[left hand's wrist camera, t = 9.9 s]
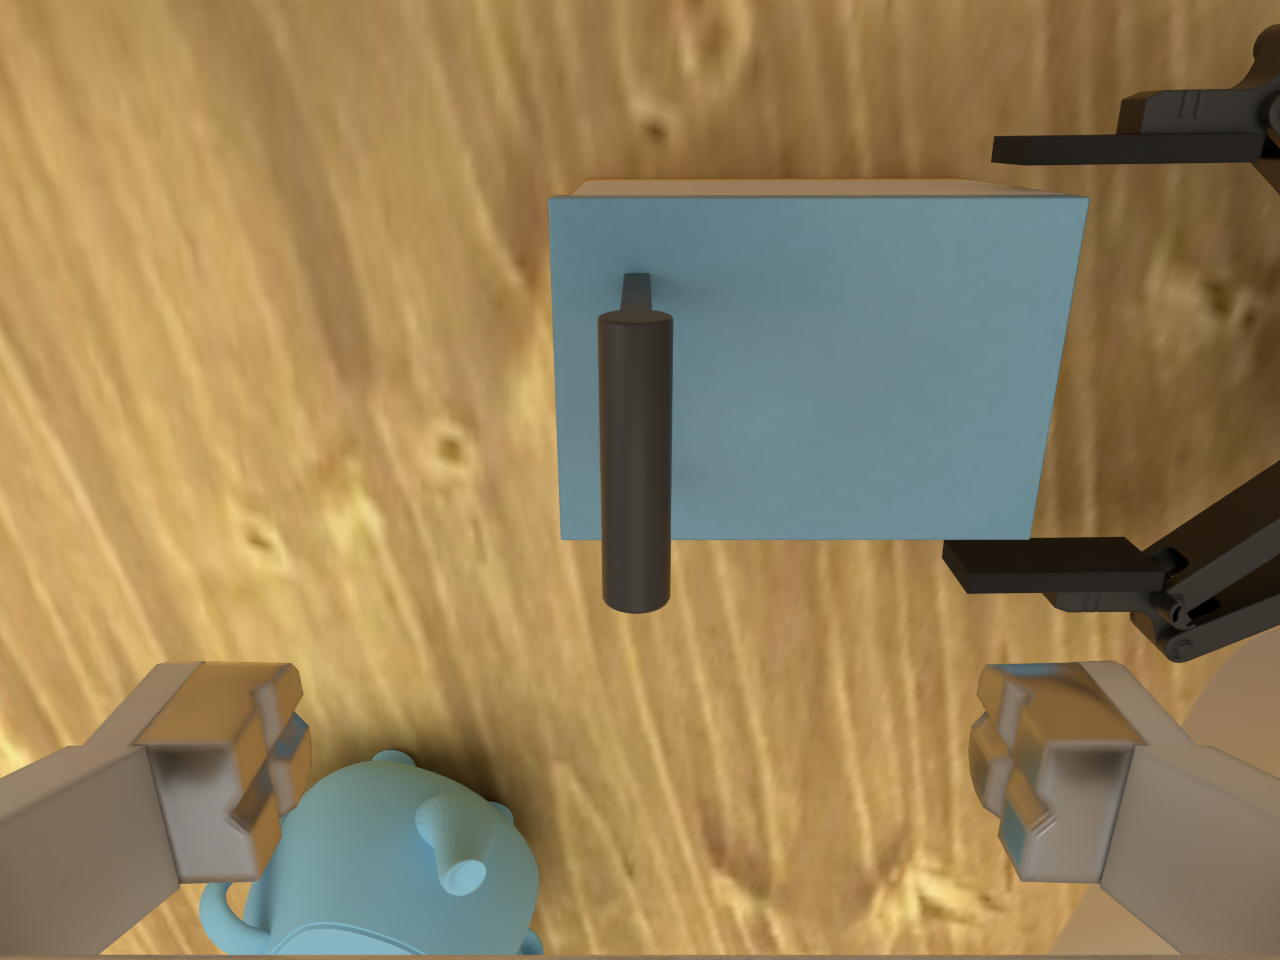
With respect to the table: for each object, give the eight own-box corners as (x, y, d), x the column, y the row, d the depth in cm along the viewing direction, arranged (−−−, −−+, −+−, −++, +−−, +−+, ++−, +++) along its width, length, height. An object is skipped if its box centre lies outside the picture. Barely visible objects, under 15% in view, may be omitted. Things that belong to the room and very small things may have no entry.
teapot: (319, 925, 46) (231, 1167, 36) (239, 705, 40) (107, 919, 30) (561, 903, 46) (543, 1141, 35) (516, 678, 40) (478, 885, 29)
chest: (592, 435, 36) (578, 523, 28) (586, 178, 32) (568, 194, 24) (930, 435, 36) (1013, 523, 28) (962, 178, 32) (1069, 194, 24)
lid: (563, 524, 28) (532, 684, 20) (552, 194, 24) (507, 227, 16) (1014, 523, 28) (1167, 684, 20) (1069, 194, 24) (1284, 225, 16)
